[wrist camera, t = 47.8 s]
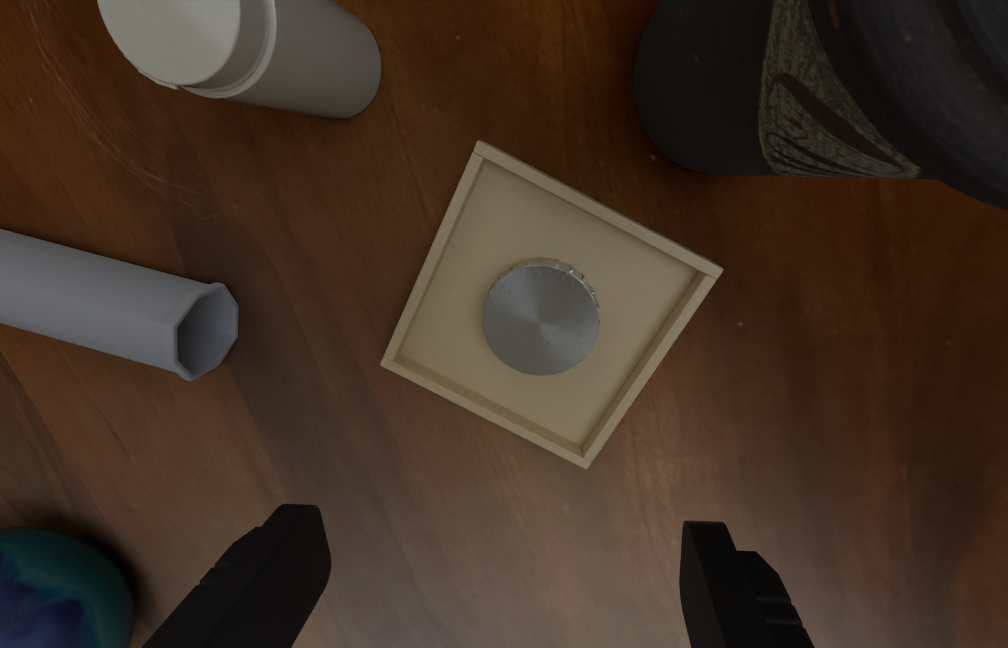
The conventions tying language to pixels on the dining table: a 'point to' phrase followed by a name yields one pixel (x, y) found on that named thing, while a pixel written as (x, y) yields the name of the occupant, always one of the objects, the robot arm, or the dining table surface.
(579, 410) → the tray
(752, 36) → the container
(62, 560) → the vase
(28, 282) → the tube
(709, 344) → the dining table surface
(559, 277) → the lid
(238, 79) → the jar
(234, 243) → the dining table surface
